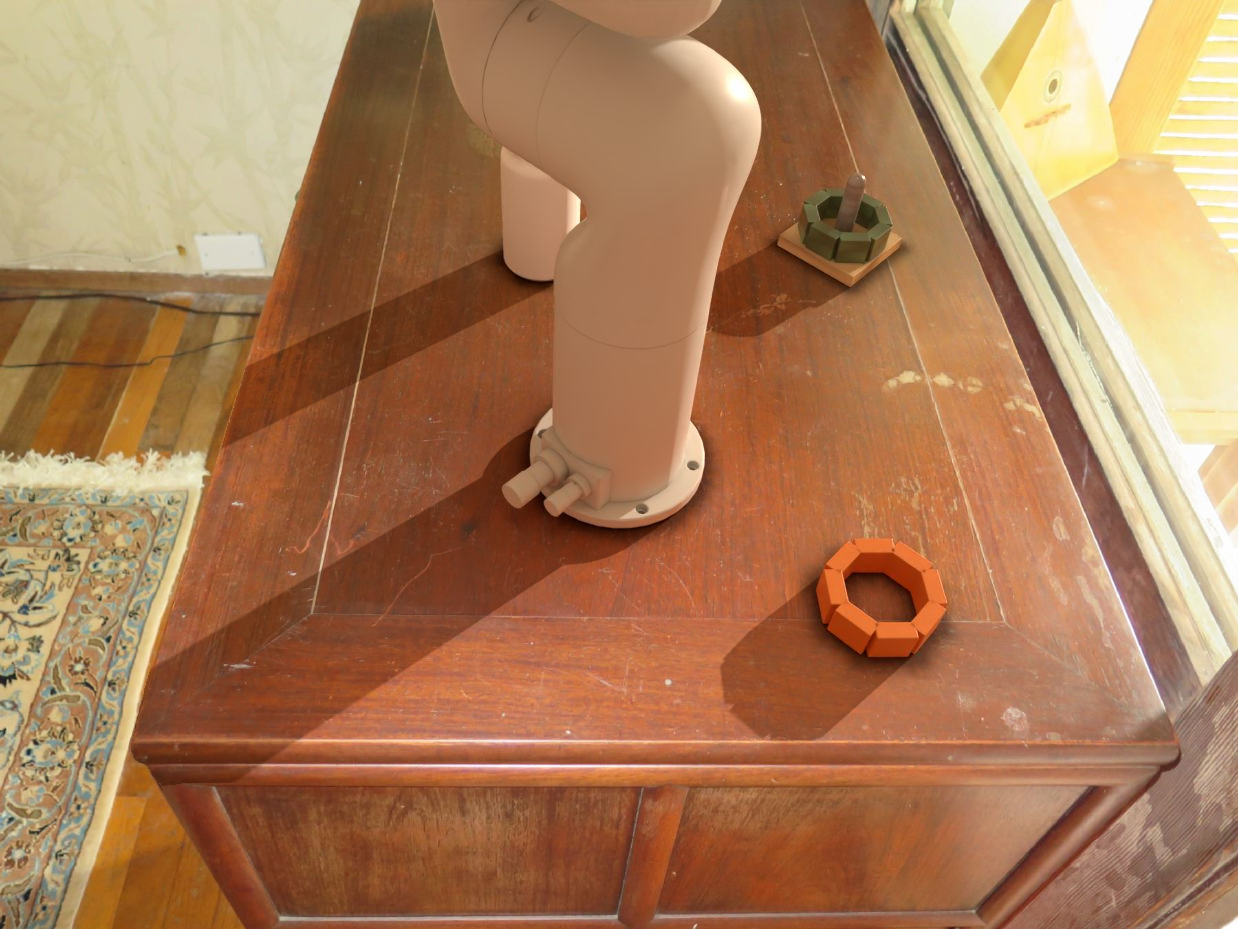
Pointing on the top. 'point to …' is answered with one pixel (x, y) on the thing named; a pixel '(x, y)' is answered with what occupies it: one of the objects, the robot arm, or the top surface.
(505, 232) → the can
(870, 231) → the ring stand
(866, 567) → the orange ring
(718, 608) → the top surface
